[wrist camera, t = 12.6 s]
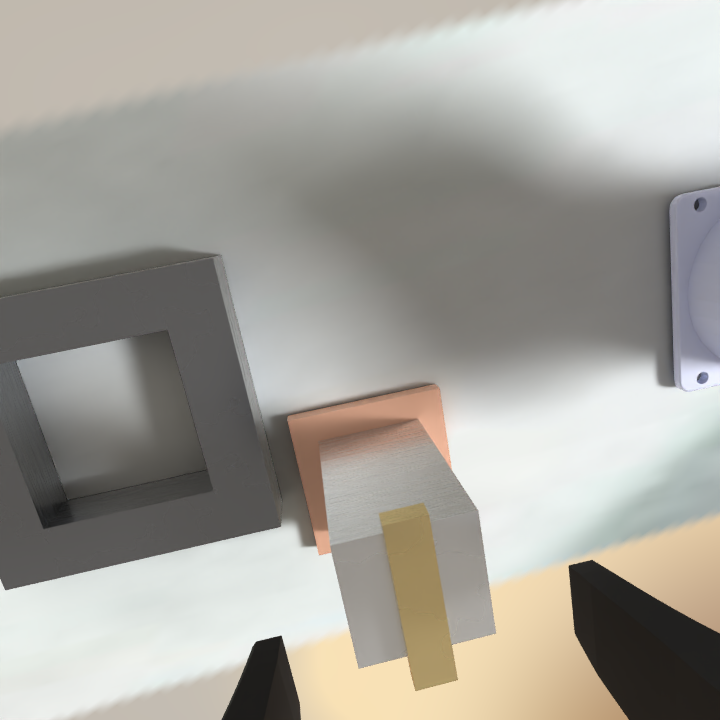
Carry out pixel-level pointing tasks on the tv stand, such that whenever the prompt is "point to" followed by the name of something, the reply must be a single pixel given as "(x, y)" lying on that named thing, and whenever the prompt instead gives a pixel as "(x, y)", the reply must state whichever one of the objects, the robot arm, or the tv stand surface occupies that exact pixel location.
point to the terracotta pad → (352, 420)
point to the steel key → (405, 550)
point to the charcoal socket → (151, 500)
